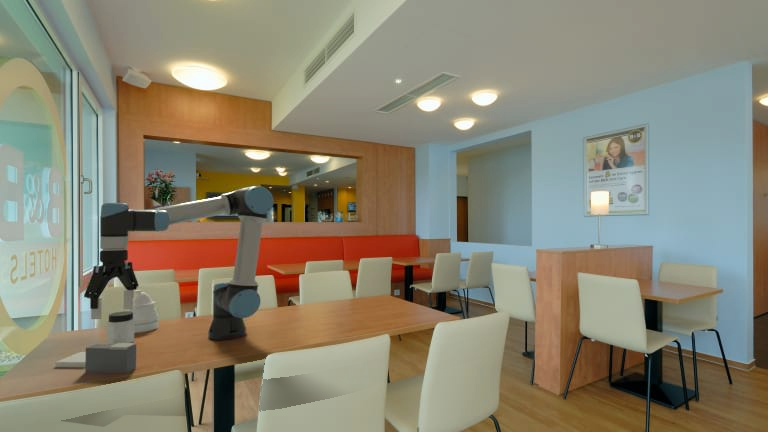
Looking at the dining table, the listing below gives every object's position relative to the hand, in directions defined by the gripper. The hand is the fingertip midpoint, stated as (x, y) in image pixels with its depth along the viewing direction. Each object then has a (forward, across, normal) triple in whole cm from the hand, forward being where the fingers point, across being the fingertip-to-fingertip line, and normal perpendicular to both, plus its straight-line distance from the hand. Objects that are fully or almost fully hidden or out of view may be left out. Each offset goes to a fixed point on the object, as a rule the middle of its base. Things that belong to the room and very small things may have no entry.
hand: (113, 313), depth 122 cm
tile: (+18, -7, -11) cm, 22 cm away
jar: (+19, -27, -18) cm, 37 cm away
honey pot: (+19, -48, -24) cm, 57 cm away
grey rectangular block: (+19, 0, 0) cm, 19 cm away
